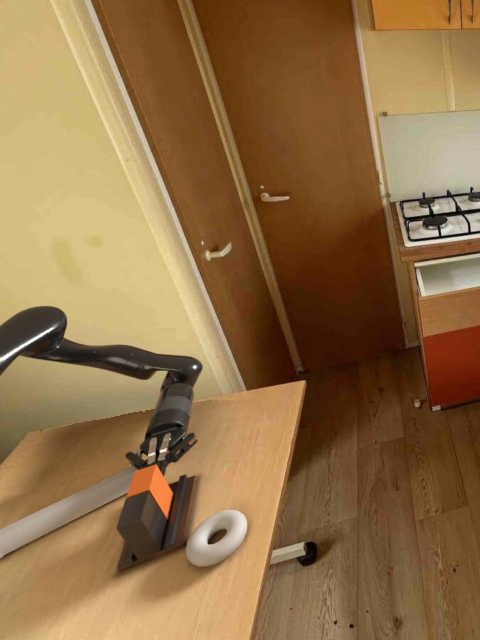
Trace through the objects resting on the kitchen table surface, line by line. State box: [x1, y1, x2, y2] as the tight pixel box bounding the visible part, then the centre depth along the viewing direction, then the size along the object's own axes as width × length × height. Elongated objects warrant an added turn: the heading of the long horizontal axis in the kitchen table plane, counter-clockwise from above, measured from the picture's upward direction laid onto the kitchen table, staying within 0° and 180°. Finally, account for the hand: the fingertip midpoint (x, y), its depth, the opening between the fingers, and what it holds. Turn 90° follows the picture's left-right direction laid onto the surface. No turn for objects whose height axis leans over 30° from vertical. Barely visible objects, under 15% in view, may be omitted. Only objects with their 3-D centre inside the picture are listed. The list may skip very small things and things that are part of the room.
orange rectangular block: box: [125, 465, 174, 521], centre depth 84 cm, size 4×6×10 cm, turn 27°
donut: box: [185, 509, 248, 568], centre depth 81 cm, size 10×3×10 cm
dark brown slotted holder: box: [115, 473, 198, 574], centre depth 83 cm, size 10×16×11 cm, turn 27°
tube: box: [0, 458, 148, 559], centre depth 87 cm, size 5×5×25 cm
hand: (153, 480), depth 86 cm, fingers closed
